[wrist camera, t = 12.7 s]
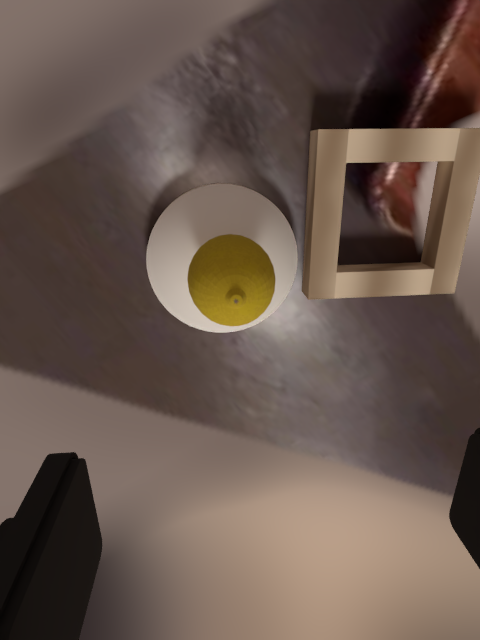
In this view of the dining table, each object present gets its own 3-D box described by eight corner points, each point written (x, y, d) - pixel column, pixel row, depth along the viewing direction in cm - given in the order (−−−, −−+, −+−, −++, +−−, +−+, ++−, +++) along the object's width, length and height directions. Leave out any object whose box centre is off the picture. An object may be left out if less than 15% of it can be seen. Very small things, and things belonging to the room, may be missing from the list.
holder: (470, 129, 28) (489, 127, 26) (440, 285, 32) (454, 293, 31) (310, 130, 27) (318, 129, 25) (301, 290, 32) (308, 299, 30)
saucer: (297, 181, 28) (301, 182, 27) (291, 323, 33) (294, 329, 31) (140, 184, 27) (137, 185, 26) (155, 329, 32) (154, 335, 31)
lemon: (176, 243, 28) (167, 276, 21) (248, 212, 28) (265, 234, 20) (208, 310, 30) (210, 360, 23) (275, 281, 30) (300, 324, 22)
